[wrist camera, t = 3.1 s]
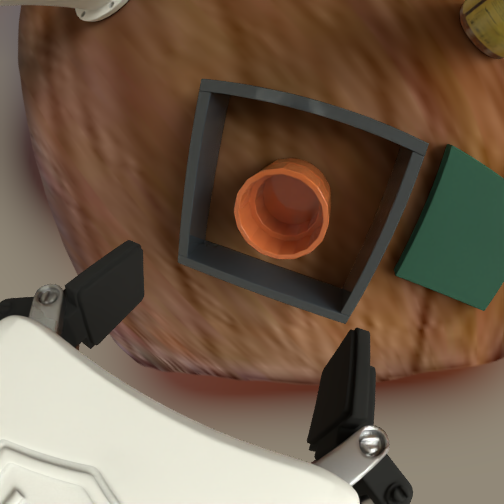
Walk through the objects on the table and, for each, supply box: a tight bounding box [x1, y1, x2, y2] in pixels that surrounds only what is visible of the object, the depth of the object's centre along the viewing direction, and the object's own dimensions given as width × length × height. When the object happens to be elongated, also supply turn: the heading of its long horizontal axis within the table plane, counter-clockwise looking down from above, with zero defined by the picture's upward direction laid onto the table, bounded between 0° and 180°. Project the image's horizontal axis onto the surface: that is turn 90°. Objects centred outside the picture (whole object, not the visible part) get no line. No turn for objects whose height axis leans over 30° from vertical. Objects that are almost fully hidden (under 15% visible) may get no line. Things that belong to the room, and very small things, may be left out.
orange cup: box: [234, 158, 331, 259], centre depth 21 cm, size 7×7×6 cm
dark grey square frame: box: [178, 79, 429, 324], centre depth 22 cm, size 17×17×4 cm
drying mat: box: [394, 144, 504, 311], centre depth 19 cm, size 13×13×1 cm
